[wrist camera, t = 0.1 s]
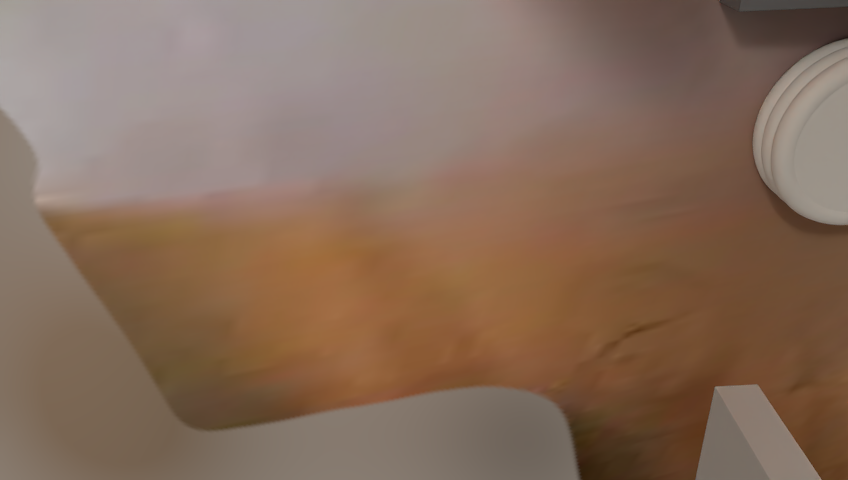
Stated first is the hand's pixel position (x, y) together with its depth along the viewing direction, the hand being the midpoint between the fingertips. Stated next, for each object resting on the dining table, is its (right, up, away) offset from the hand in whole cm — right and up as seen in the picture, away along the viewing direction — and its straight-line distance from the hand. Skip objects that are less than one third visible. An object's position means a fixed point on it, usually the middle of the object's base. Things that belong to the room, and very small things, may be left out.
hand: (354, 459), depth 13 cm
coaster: (+25, +11, +28) cm, 39 cm away
